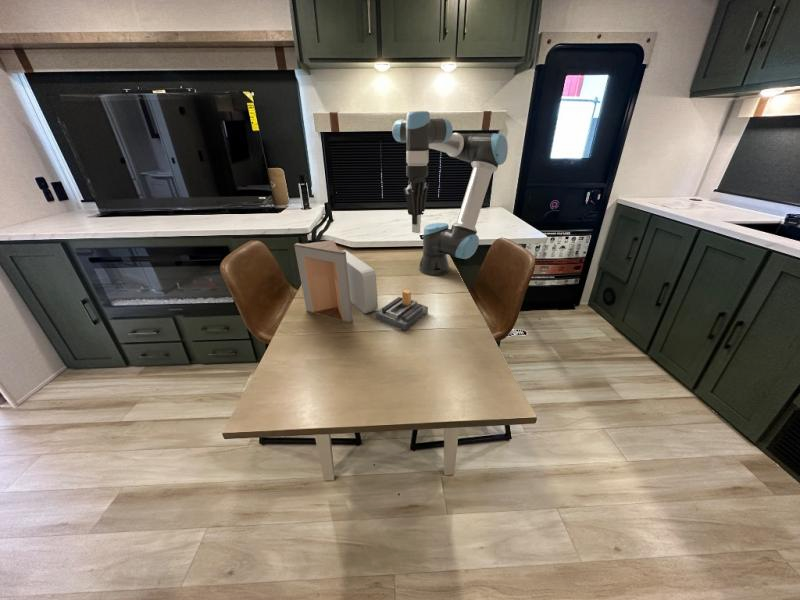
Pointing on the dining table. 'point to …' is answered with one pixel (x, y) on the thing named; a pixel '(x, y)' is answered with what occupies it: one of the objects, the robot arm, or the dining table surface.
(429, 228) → the robot arm
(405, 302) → the breaker lever
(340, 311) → the cabinet
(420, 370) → the dining table surface
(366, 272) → the rounded white slab
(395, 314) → the frame
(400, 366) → the dining table surface
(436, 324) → the dining table surface
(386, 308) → the grey slider track plate
